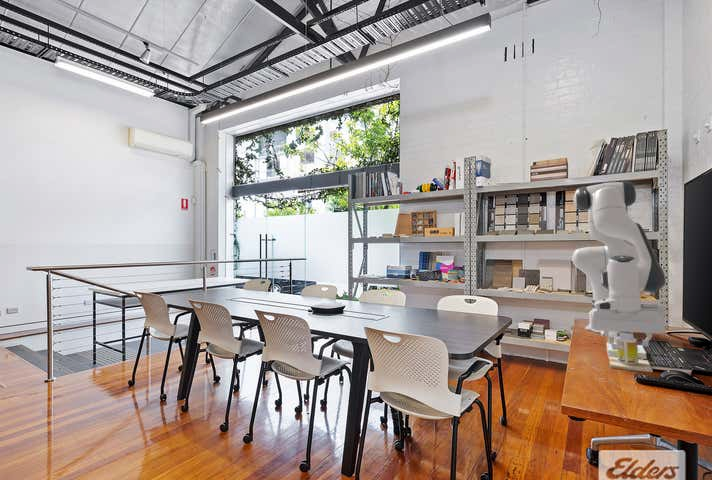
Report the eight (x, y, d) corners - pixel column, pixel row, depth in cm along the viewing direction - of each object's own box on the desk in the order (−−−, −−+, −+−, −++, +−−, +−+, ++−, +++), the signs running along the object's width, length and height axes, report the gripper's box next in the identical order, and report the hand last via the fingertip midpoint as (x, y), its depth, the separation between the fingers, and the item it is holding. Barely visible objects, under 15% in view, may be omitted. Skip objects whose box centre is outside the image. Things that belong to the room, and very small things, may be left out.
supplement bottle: (640, 362, 125) (638, 331, 125) (635, 366, 122) (633, 335, 122) (620, 358, 129) (618, 329, 130) (615, 362, 126) (613, 332, 126)
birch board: (608, 358, 133) (608, 356, 133) (647, 362, 127) (647, 359, 127) (610, 368, 123) (610, 365, 123) (652, 372, 118) (652, 369, 118)
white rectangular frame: (606, 349, 144) (606, 342, 144) (642, 351, 138) (641, 345, 138) (608, 357, 135) (608, 350, 135) (646, 360, 129) (646, 353, 129)
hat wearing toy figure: (625, 344, 149) (623, 314, 149) (628, 346, 145) (625, 316, 146) (599, 342, 153) (597, 313, 153) (601, 345, 149) (598, 315, 149)
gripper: (662, 303, 123) (665, 345, 123) (589, 301, 134) (592, 339, 133) (666, 306, 118) (669, 350, 117) (590, 304, 128) (592, 344, 128)
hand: (627, 344), depth 125 cm, fingers open, 8 cm apart
